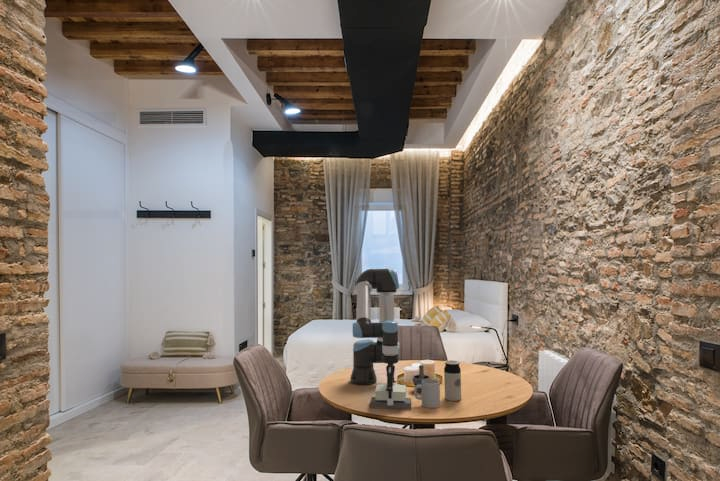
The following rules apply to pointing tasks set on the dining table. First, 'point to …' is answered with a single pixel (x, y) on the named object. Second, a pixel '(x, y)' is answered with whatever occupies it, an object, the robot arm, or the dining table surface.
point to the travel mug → (452, 380)
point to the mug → (429, 393)
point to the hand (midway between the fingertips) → (390, 400)
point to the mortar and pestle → (420, 377)
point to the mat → (396, 404)
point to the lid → (398, 392)
